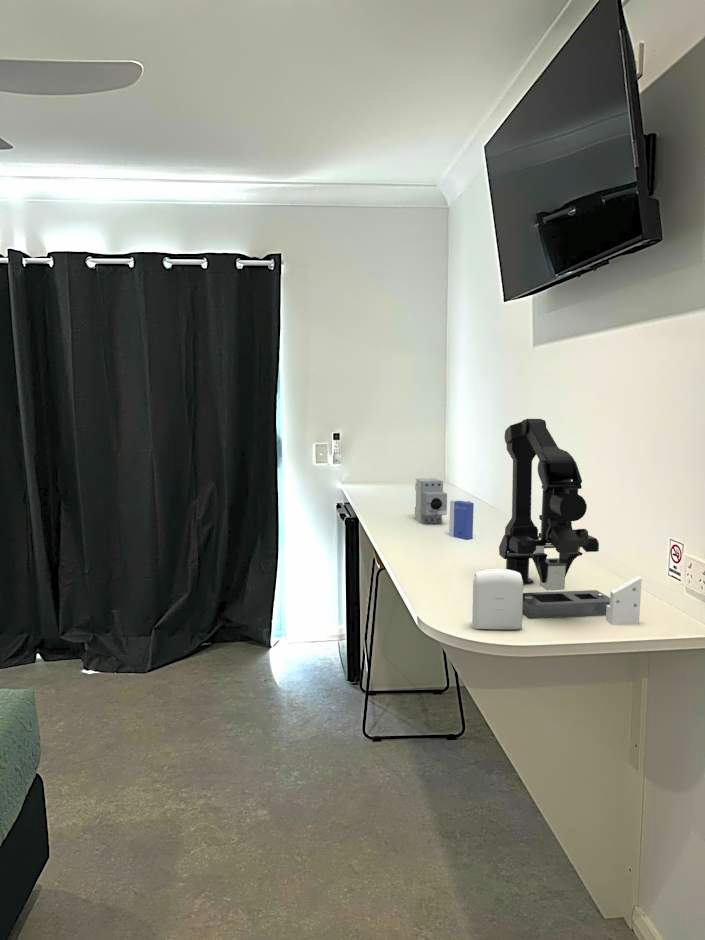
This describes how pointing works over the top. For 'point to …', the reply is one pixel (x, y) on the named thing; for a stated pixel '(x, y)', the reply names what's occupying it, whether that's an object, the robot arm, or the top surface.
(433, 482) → the circuit breaker
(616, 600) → the white angled block
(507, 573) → the photo printer
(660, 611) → the top surface
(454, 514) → the walkman
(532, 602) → the metal cover plate
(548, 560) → the drawer with knob
